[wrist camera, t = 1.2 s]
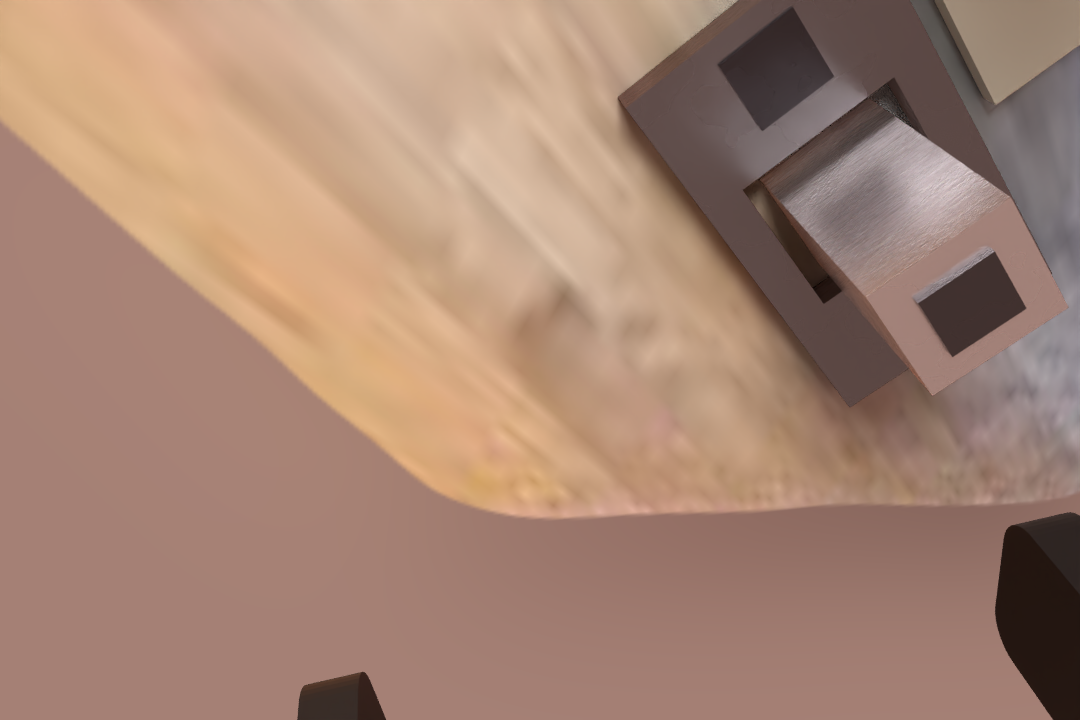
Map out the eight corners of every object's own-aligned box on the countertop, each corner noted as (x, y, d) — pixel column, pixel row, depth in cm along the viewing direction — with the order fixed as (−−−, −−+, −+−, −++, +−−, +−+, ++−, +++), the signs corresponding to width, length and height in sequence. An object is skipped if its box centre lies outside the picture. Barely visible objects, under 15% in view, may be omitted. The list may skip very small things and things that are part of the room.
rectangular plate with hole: (850, -89, 30) (867, -84, 29) (1034, 259, 38) (1053, 274, 37) (617, 97, 32) (626, 109, 31) (837, 390, 40) (850, 408, 39)
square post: (868, 97, 33) (1015, 200, 26) (922, 190, 36) (1072, 310, 28) (759, 178, 34) (869, 300, 27) (818, 263, 37) (935, 399, 29)
